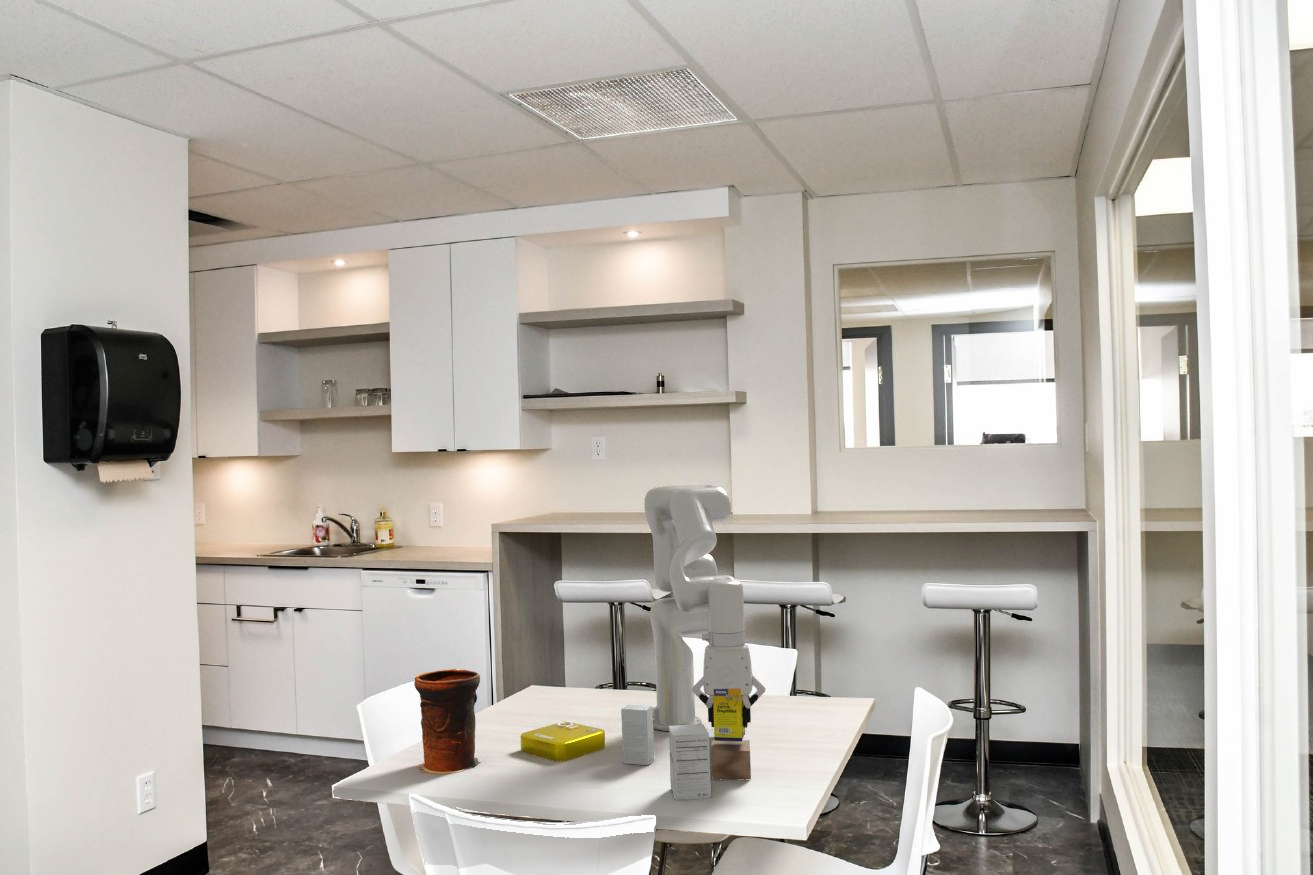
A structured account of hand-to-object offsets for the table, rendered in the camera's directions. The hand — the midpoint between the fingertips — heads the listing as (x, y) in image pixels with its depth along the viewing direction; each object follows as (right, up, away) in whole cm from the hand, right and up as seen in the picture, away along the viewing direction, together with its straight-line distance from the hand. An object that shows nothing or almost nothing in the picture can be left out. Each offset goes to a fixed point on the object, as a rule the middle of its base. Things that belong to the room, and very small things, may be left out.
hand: (729, 724), depth 209 cm
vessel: (-61, -13, +13) cm, 64 cm away
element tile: (-37, -12, +22) cm, 45 cm away
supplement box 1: (-9, -10, -12) cm, 18 cm away
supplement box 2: (0, -3, 0) cm, 3 cm away
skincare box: (-19, -11, +10) cm, 24 cm away
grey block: (-2, -11, +10) cm, 15 cm away
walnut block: (0, -10, 0) cm, 10 cm away
